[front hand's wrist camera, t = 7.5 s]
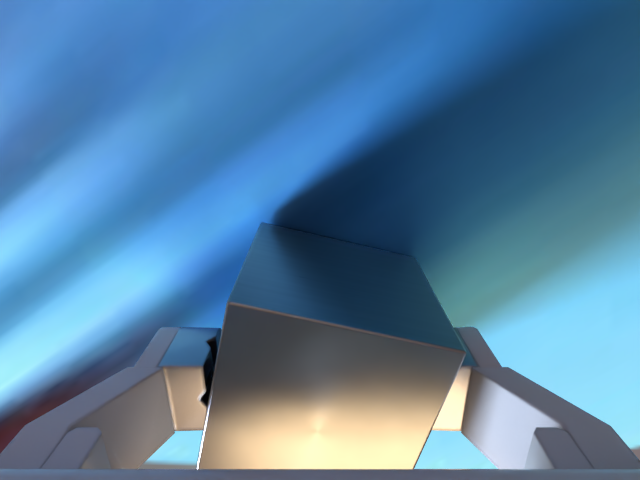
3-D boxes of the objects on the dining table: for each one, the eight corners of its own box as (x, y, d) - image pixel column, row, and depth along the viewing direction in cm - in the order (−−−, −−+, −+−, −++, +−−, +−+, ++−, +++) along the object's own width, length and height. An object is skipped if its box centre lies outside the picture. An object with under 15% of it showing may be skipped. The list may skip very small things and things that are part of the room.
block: (231, 366, 13) (190, 497, 9) (260, 221, 11) (226, 301, 7) (366, 392, 13) (386, 530, 9) (415, 256, 11) (469, 353, 7)
